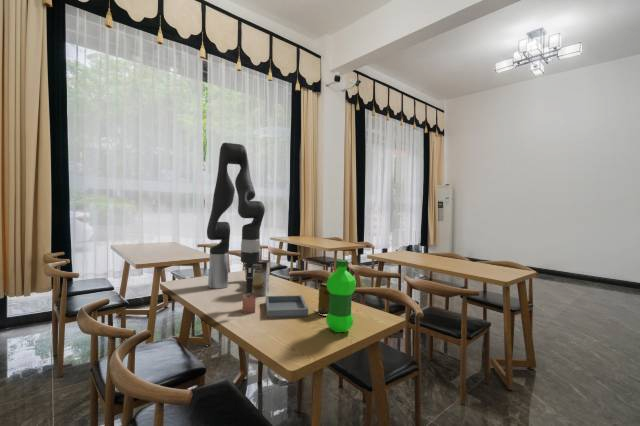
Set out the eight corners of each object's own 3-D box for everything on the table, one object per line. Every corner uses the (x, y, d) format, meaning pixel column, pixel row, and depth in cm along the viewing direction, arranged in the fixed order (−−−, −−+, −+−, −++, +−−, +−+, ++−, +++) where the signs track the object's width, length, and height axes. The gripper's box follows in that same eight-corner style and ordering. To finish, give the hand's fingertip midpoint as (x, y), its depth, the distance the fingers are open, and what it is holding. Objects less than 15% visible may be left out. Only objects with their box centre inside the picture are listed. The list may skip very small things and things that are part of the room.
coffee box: (246, 294, 147) (247, 261, 146) (251, 291, 153) (252, 258, 152) (265, 296, 146) (266, 262, 145) (269, 292, 152) (270, 259, 152)
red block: (242, 313, 123) (242, 298, 123) (242, 308, 128) (243, 294, 128) (255, 312, 124) (255, 298, 124) (255, 308, 129) (255, 294, 129)
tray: (267, 318, 119) (267, 310, 119) (265, 302, 136) (265, 296, 136) (308, 316, 122) (308, 309, 122) (301, 301, 140) (301, 295, 140)
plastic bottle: (359, 330, 110) (362, 261, 109) (340, 339, 103) (343, 264, 102) (338, 322, 117) (341, 256, 117) (319, 329, 110) (321, 259, 109)
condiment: (329, 308, 132) (330, 280, 132) (338, 315, 124) (340, 286, 124) (313, 310, 129) (314, 282, 128) (322, 318, 121) (323, 287, 121)
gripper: (241, 247, 131) (240, 285, 132) (240, 253, 117) (239, 295, 118) (259, 247, 133) (258, 285, 133) (260, 252, 119) (259, 294, 119)
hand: (249, 289), depth 126 cm, fingers open, 8 cm apart
